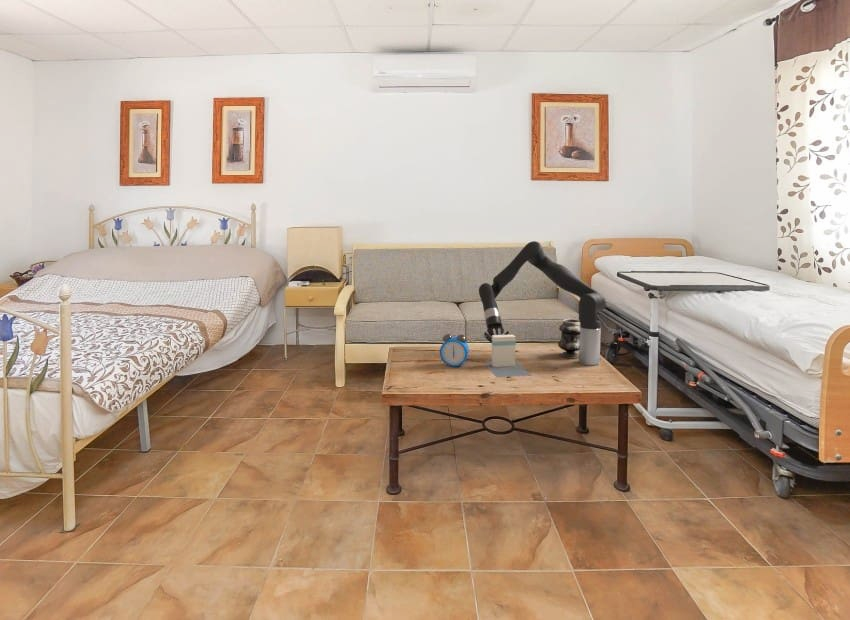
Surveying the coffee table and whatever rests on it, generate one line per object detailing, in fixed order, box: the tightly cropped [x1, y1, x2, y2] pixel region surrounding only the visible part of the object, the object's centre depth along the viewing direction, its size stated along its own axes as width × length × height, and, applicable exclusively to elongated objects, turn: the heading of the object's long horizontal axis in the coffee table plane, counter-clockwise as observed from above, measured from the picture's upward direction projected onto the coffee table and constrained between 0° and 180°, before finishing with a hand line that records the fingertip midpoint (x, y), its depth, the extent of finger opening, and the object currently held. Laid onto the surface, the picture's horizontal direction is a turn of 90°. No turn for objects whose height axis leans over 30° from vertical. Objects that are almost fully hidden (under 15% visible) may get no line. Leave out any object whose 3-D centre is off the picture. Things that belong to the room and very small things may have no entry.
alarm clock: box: [439, 333, 470, 368], centre depth 246 cm, size 13×6×15 cm, turn 77°
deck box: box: [491, 334, 517, 367], centre depth 244 cm, size 4×10×14 cm, turn 98°
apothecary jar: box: [557, 318, 580, 359], centre depth 261 cm, size 12×12×18 cm
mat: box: [483, 361, 532, 378], centre depth 240 cm, size 22×16×1 cm
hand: (499, 349), depth 250 cm, fingers closed
